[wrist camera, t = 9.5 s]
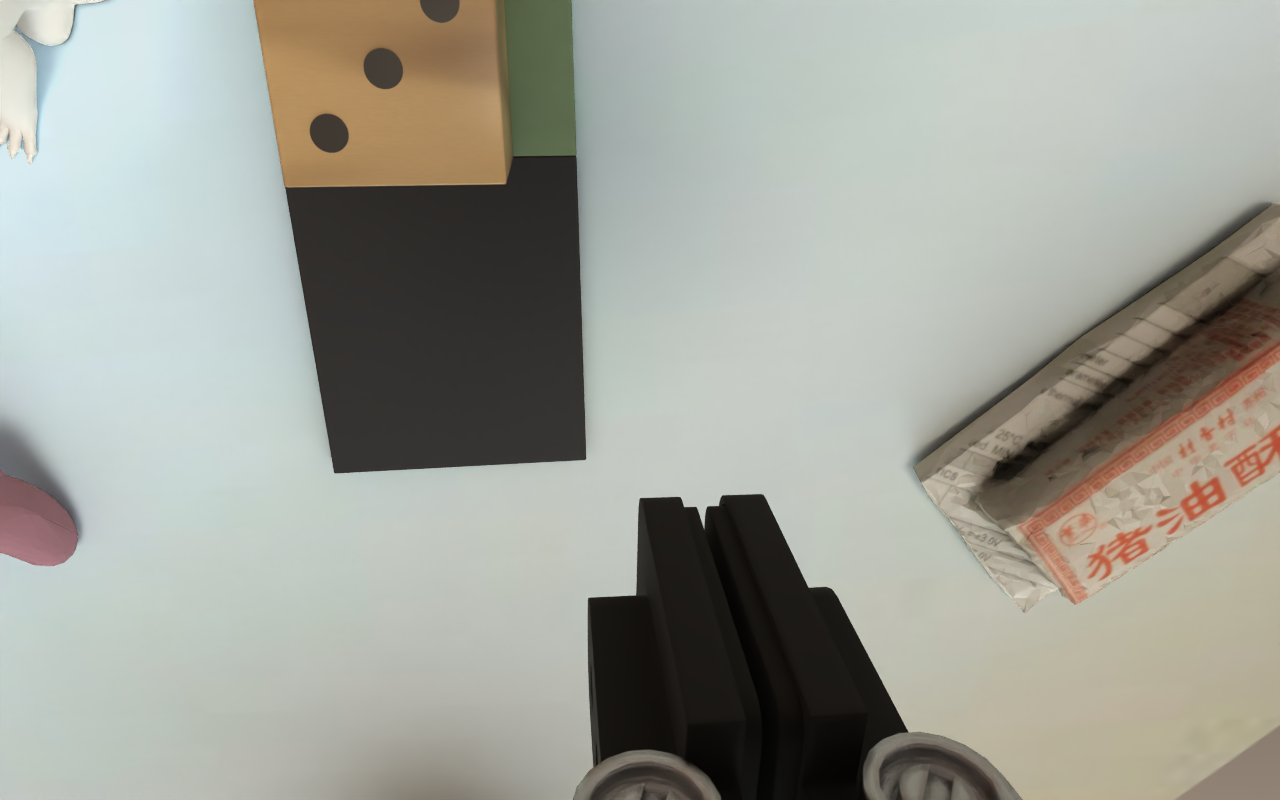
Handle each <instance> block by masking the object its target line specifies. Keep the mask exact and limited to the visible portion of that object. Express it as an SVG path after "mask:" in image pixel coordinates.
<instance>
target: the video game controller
mask: <svg viewBox="0 0 1280 800" xmlns="http://www.w3.org/2000/svg"><path fill="white" fill-rule="evenodd" d="M77 541H78V533H77V529H76V526H75V524H74V522H73V520H72V519H71V517H70V515H69V514H68V513H67V511H66V510H65V509H64V508H63V507H62V506H61V505H60V504H59V503H58V502H57V501H56V500H55V499H54V498H53V497H52V496H50V495H49V494H47V493H46V492H44V491H42V490H41V489H39V488H37V487H35V486H33V485H30V484H28V483H26V482H24V481H22V480H19V479H16V478H13V477H10V476H7V475H4V474H3V472H2V470H1V469H0V553H3V554H7V555H9V556H12V557H15V558H17V559H20V560H23V561H25V562H28V563H30V564H33V565H41V566H55V565H58V564H61V563H63V562H65V561H66V560H67V559H68V558H69V557H70V556H72V555H73V553H74V551H75V549H76V545H77Z"/></svg>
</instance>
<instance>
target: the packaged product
mask: <svg viewBox="0 0 1280 800" xmlns="http://www.w3.org/2000/svg"><path fill="white" fill-rule="evenodd" d="M913 468H914V470H915V472H916V473H917V475H918V477H919V479H920V481H921V483H922V485H923V486H924V488H925V490H926V492H927V494H928V495H929V497H930V499H931V500H932V501H933V502H934V503H935V505H936V506H937V507H938V508H939V509H940V510H941V511H942V512H943V514H944V515H945V516H946V517H947V518H948V519H949V520H950V522H951V523H952V524H953V525H954V526H955V527H956V528H957V530H958V531H959V533H960V534H961V536H962V537H963V539H964V540H965V542H966V543H967V545H968V547H969V548H970V550H971V551H972V552H973V554H974V555H975V556H976V557H977V559H978V560H979V561H980V563H981V564H982V565H983V567H984V568H985V569H986V571H987V572H988V573H989V575H990V576H991V577H992V578H993V579H994V580H995V582H996V583H997V584H998V585H999V586H1000V587H1001V588H1002V589H1003V590H1004V591H1005V592H1006V593H1007V594H1008V595H1009V596H1010V598H1011V599H1012V600H1013V601H1014V602H1015V603H1016V604H1017V605H1018V606H1019V608H1020V609H1021V610H1022V611H1023V612H1024V613H1025V612H1026V611H1028V610H1029V609H1030V608H1031V607H1032V606H1033V605H1034V604H1035V603H1037V602H1038V601H1039V600H1041V599H1042V598H1044V597H1045V596H1046V595H1048V594H1049V593H1051V592H1053V591H1057V590H1059V591H1060V593H1061V594H1062V596H1064V597H1065V598H1067V599H1068V600H1070V601H1071V602H1072V603H1073V604H1078V603H1080V602H1081V601H1083V600H1084V599H1086V598H1088V597H1090V596H1092V595H1094V594H1095V593H1097V592H1098V591H1100V590H1101V589H1103V588H1104V587H1106V586H1107V585H1109V584H1110V583H1111V582H1113V581H1114V580H1116V579H1118V578H1120V577H1121V576H1123V575H1124V574H1126V573H1127V572H1129V571H1130V570H1132V569H1134V568H1135V567H1137V566H1138V565H1139V564H1141V563H1142V562H1144V561H1145V560H1147V559H1148V558H1150V557H1151V556H1153V555H1154V554H1156V553H1157V552H1159V551H1162V550H1163V549H1164V548H1166V547H1167V546H1168V545H1169V544H1171V543H1172V542H1174V541H1175V540H1177V539H1179V538H1181V537H1182V536H1184V535H1185V534H1187V533H1188V532H1190V531H1191V530H1193V529H1194V528H1196V527H1197V526H1199V525H1201V524H1202V523H1204V522H1205V521H1206V520H1208V519H1209V518H1211V517H1213V516H1214V515H1216V514H1217V513H1219V512H1220V511H1222V510H1223V509H1225V508H1226V507H1228V506H1229V505H1231V504H1233V503H1234V502H1236V501H1238V500H1239V499H1241V498H1242V497H1243V496H1245V495H1246V494H1247V493H1249V492H1250V491H1251V490H1253V489H1254V488H1255V487H1257V486H1258V485H1260V484H1262V483H1264V482H1267V481H1268V480H1270V479H1271V478H1273V477H1274V476H1276V475H1277V474H1278V473H1280V205H1277V204H1272V205H1271V206H1270V207H1268V208H1267V209H1266V210H1264V211H1263V212H1262V213H1260V214H1259V215H1258V216H1256V217H1255V218H1254V219H1252V220H1251V221H1250V222H1248V223H1247V224H1246V225H1244V226H1243V227H1242V228H1240V229H1239V230H1238V231H1236V232H1235V233H1234V234H1232V235H1231V236H1230V237H1228V238H1227V239H1226V240H1224V241H1223V242H1222V243H1220V244H1219V245H1218V246H1216V247H1215V248H1214V249H1212V250H1211V251H1209V252H1208V253H1206V254H1205V255H1203V256H1202V257H1200V258H1199V259H1197V260H1196V261H1194V262H1193V263H1191V264H1190V265H1188V266H1187V267H1185V268H1184V269H1183V270H1181V271H1180V272H1178V273H1177V274H1175V275H1174V276H1172V277H1171V278H1169V279H1168V280H1166V281H1165V282H1163V283H1162V284H1160V285H1159V286H1157V287H1156V288H1154V289H1153V290H1151V291H1150V292H1148V293H1147V294H1145V295H1144V296H1142V297H1141V298H1139V299H1138V300H1136V301H1135V302H1133V303H1132V304H1130V305H1129V306H1127V307H1126V308H1124V309H1123V310H1121V311H1120V312H1118V313H1117V314H1115V315H1114V316H1112V317H1111V318H1109V319H1108V320H1106V321H1105V322H1103V323H1101V324H1100V325H1098V326H1097V327H1095V328H1094V329H1092V330H1091V331H1089V332H1088V333H1086V334H1085V335H1083V336H1082V337H1080V338H1079V339H1078V340H1077V341H1075V342H1074V343H1073V344H1072V345H1071V346H1069V347H1068V348H1067V349H1066V350H1064V351H1063V352H1062V353H1061V354H1060V355H1058V356H1057V357H1056V358H1055V359H1054V360H1052V361H1051V362H1050V363H1049V364H1048V365H1046V366H1045V367H1044V368H1043V369H1041V370H1040V371H1039V372H1038V373H1037V374H1035V375H1034V376H1033V377H1032V378H1030V379H1029V380H1028V381H1027V382H1025V383H1024V384H1023V385H1021V386H1020V387H1019V388H1017V389H1016V390H1015V391H1013V392H1012V393H1011V394H1009V395H1008V396H1007V397H1005V398H1004V399H1003V400H1001V401H1000V402H999V403H997V404H996V405H995V406H993V407H992V408H991V409H989V410H988V411H987V412H985V413H984V414H983V415H981V416H980V417H979V418H977V419H976V420H975V421H974V422H972V423H971V424H970V425H968V426H967V427H966V428H964V429H963V430H962V431H960V432H959V433H958V434H956V435H955V436H954V437H952V438H951V439H950V440H948V441H947V442H946V443H944V444H943V445H942V446H940V447H939V448H938V449H936V450H935V451H934V452H932V453H931V454H930V455H928V456H927V457H926V458H925V459H923V460H922V461H921V462H919V463H918V464H917V465H915V466H914V467H913Z"/></svg>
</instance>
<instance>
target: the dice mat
mask: <svg viewBox="0 0 1280 800" xmlns="http://www.w3.org/2000/svg"><path fill="white" fill-rule="evenodd" d="M504 8H505V25H506V43H507V60H508V77H509V94H510V112H511V129H512V146H513V160H512V164H511V167H510V171H509V175H508V178H507V182H506V184H485V185H416V186H347V187H285V188H286V194H287V200H288V206H289V212H290V217H291V223H292V229H293V235H294V241H295V247H296V252H297V258H298V264H299V270H300V276H301V282H302V287H303V293H304V299H305V305H306V311H307V317H308V322H309V328H310V334H311V340H312V346H313V352H314V357H315V363H316V369H317V375H318V381H319V387H320V392H321V398H322V404H323V410H324V416H325V422H326V428H327V433H328V439H329V445H330V451H331V457H332V463H333V468H334V473H350V472H369V471H387V470H406V469H424V468H443V467H462V466H480V465H499V464H518V463H536V462H555V461H573V460H586V439H585V408H584V377H583V347H582V316H581V285H580V254H579V223H578V193H577V162H576V131H575V100H574V70H573V39H572V8H571V0H504Z"/></svg>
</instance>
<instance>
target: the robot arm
mask: <svg viewBox="0 0 1280 800" xmlns="http://www.w3.org/2000/svg"><path fill="white" fill-rule="evenodd" d="M588 674H589V701H590V719H591V735H592V752H593V768H592V769H591V770H590V771H589V772H588V773H587V775H586V776H585V777H584V778H583V780H582V781H581V782H580V784H579V785H578V786H577V788H576V791H575V794H574V797H573V800H1023V799H1022V798H1021V797H1020V796H1019V794H1018V793H1017V792H1016V791H1015V789H1014V788H1013V787H1012V786H1011V784H1010V783H1009V782H1008V781H1007V780H1006V778H1005V777H1004V776H1003V775H1002V774H1001V773H1000V772H999V771H998V770H997V769H996V768H995V767H994V766H993V765H992V764H991V763H990V762H989V761H988V760H987V759H986V758H985V757H983V756H981V755H980V754H978V753H977V752H975V751H974V750H972V749H971V748H969V747H967V746H966V745H964V744H961V743H959V742H956V741H954V740H951V739H949V738H946V737H944V736H940V735H934V734H929V733H923V732H911V733H909V732H908V731H907V729H906V727H905V725H904V723H903V721H902V719H901V717H900V715H899V713H898V711H897V710H896V708H895V706H894V704H893V702H892V700H891V698H890V696H889V694H888V692H887V691H886V689H885V687H884V685H883V683H882V681H881V679H880V677H879V675H878V673H877V671H876V670H875V668H874V666H873V664H872V662H871V660H870V658H869V656H868V654H867V652H866V650H865V649H864V647H863V645H862V643H861V641H860V639H859V637H858V635H857V633H856V631H855V629H854V628H853V626H852V624H851V622H850V620H849V618H848V616H847V614H846V612H845V610H844V609H843V607H842V605H841V603H840V601H839V599H838V597H837V596H836V594H835V593H834V591H833V590H832V589H830V588H828V587H815V588H808V586H807V584H806V582H805V580H804V577H803V575H802V573H801V571H800V569H799V567H798V565H797V563H796V561H795V559H794V557H793V555H792V552H791V550H790V548H789V546H788V544H787V542H786V540H785V538H784V536H783V534H782V532H781V530H780V527H779V525H778V523H777V521H776V519H775V517H774V515H773V513H772V511H771V509H770V507H769V505H768V502H767V500H766V498H765V497H764V495H762V494H753V495H723V496H722V497H721V499H720V503H719V506H709V507H707V509H706V515H705V529H704V528H703V525H702V522H701V519H700V515H699V512H698V510H697V507H684V506H683V502H682V499H681V497H662V498H640V501H639V513H638V552H637V591H636V596H617V597H595V598H588Z"/></svg>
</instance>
